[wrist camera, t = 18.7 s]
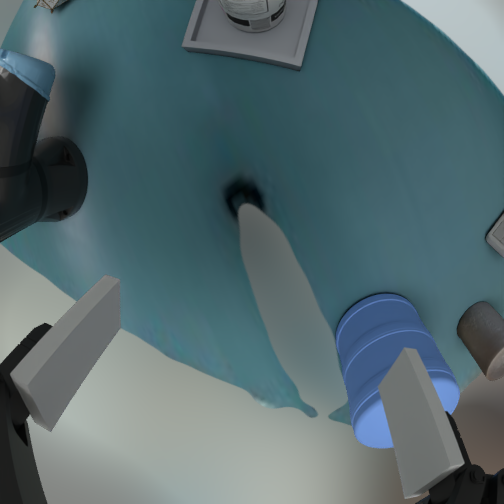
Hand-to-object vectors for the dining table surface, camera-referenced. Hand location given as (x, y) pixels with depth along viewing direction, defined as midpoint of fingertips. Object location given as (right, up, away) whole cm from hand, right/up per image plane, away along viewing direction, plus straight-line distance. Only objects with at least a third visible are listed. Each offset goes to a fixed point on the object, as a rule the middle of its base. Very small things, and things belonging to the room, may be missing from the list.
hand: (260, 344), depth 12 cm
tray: (0, +38, +19) cm, 42 cm away
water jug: (+22, -10, +37) cm, 44 cm away
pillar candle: (+46, -10, +34) cm, 58 cm away
